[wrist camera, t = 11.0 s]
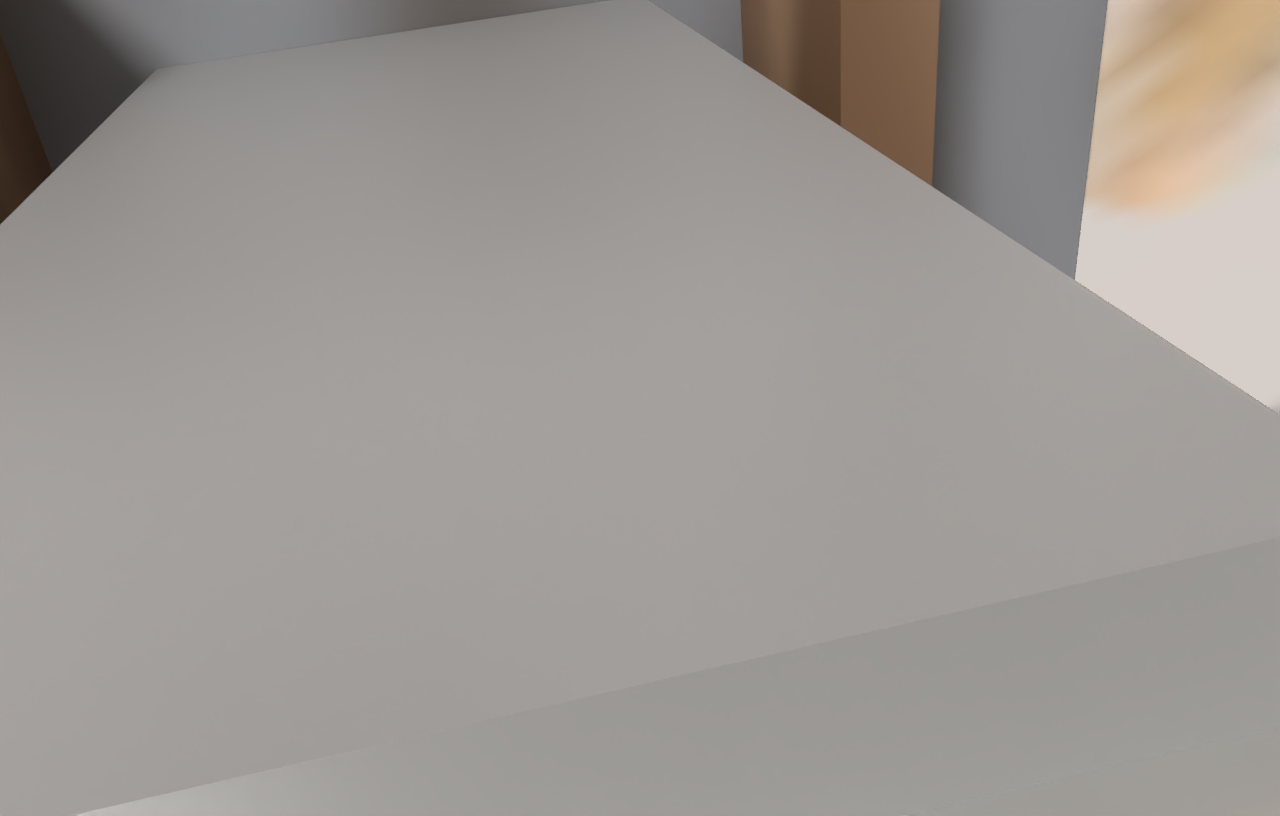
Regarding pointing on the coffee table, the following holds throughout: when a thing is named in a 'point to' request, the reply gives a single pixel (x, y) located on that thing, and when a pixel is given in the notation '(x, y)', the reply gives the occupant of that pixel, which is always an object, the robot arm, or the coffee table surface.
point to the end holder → (707, 3)
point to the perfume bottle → (585, 457)
